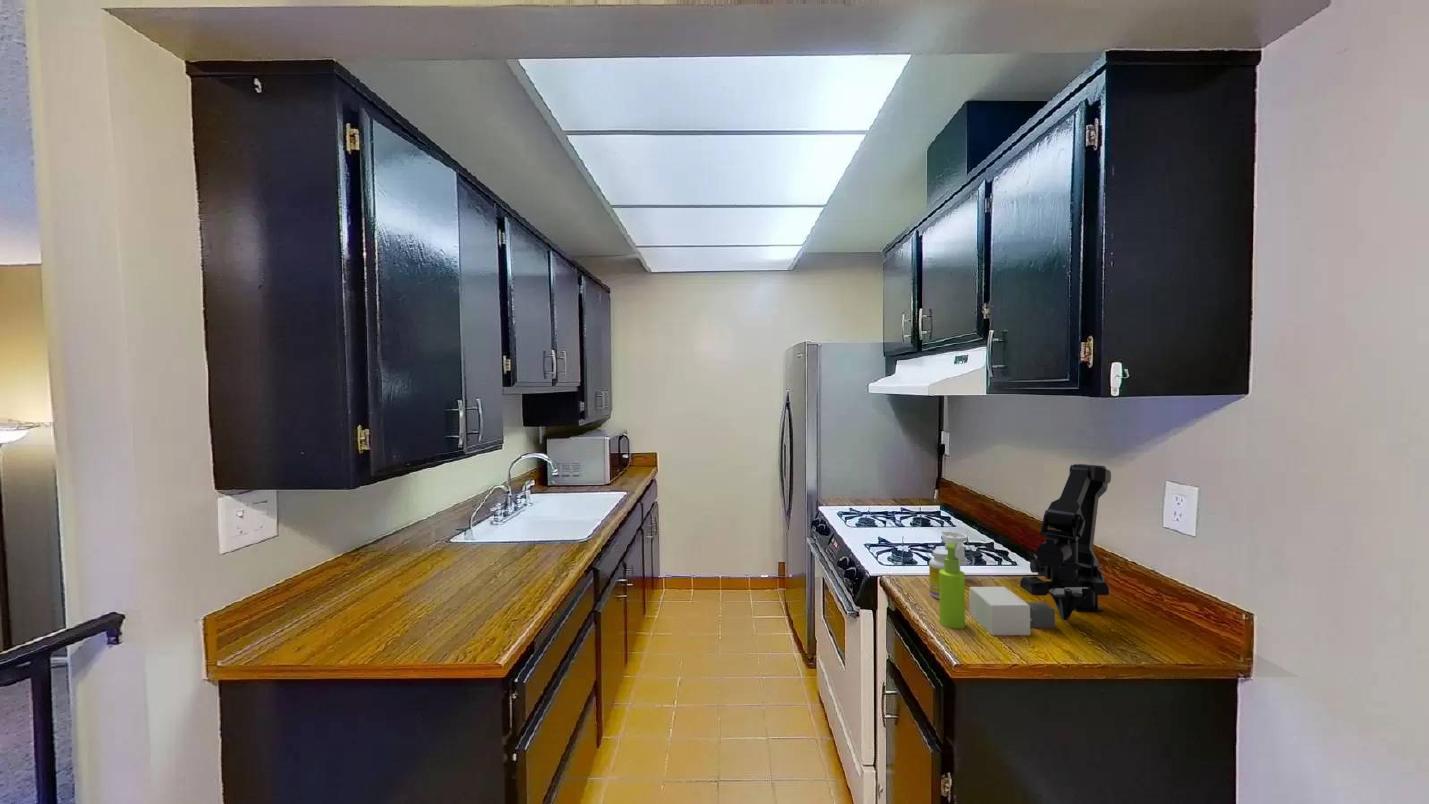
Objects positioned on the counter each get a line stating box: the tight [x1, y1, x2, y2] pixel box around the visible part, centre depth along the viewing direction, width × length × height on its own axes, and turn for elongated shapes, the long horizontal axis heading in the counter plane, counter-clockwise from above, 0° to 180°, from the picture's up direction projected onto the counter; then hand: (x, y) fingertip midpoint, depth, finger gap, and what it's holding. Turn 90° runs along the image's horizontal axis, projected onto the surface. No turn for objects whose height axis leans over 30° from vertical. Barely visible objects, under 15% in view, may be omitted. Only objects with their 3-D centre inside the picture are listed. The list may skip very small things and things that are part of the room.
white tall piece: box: [941, 529, 968, 571], centre depth 162 cm, size 7×7×15 cm
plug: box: [1025, 601, 1056, 629], centre depth 131 cm, size 6×5×5 cm
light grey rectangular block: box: [968, 586, 1031, 636], centre depth 131 cm, size 9×12×7 cm
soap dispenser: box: [938, 542, 966, 629], centre depth 132 cm, size 6×7×20 cm
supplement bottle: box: [928, 548, 948, 600], centre depth 149 cm, size 7×7×13 cm
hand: (1064, 619), depth 130 cm, fingers closed
